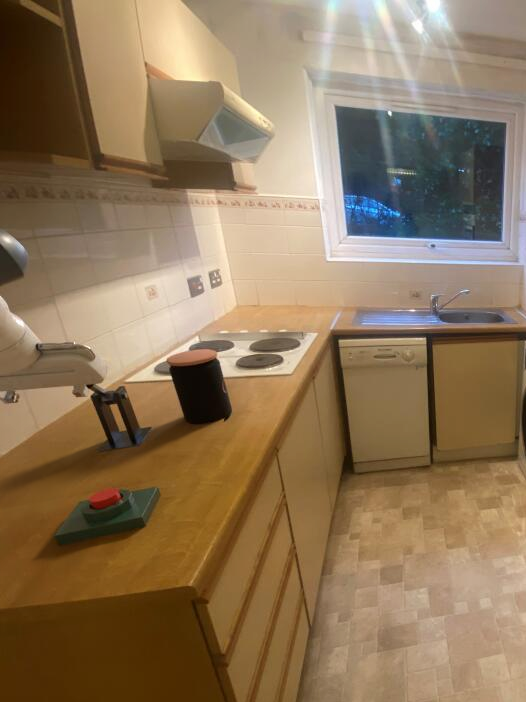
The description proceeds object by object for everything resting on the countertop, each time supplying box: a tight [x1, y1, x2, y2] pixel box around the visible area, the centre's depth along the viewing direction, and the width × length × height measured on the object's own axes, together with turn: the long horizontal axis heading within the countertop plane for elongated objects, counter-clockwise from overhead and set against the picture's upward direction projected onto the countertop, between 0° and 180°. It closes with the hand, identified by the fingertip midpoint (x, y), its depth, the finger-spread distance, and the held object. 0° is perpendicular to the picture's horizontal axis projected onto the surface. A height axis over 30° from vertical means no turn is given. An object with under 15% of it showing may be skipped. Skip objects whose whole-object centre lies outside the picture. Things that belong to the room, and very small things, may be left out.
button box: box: [53, 485, 162, 546], centre depth 79 cm, size 12×10×4 cm
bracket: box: [89, 385, 153, 453], centre depth 102 cm, size 10×8×14 cm
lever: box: [86, 384, 117, 406], centre depth 95 cm, size 14×4×4 cm
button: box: [88, 487, 121, 509], centre depth 78 cm, size 4×4×2 cm
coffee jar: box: [165, 348, 233, 425], centre depth 114 cm, size 11×11×18 cm
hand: (49, 397), depth 77 cm, fingers open, 8 cm apart
